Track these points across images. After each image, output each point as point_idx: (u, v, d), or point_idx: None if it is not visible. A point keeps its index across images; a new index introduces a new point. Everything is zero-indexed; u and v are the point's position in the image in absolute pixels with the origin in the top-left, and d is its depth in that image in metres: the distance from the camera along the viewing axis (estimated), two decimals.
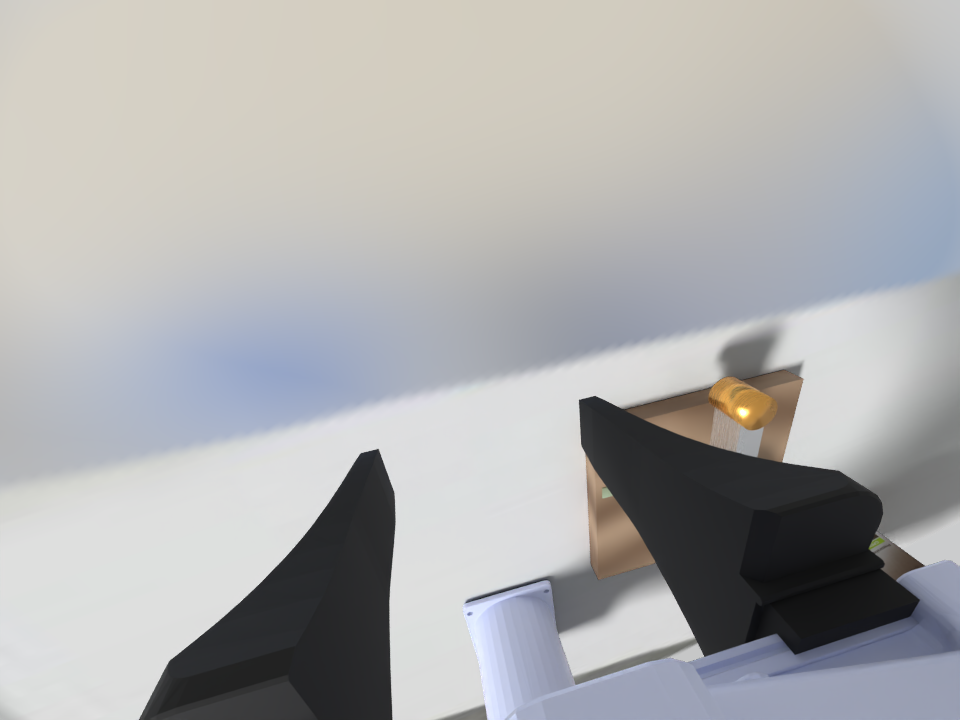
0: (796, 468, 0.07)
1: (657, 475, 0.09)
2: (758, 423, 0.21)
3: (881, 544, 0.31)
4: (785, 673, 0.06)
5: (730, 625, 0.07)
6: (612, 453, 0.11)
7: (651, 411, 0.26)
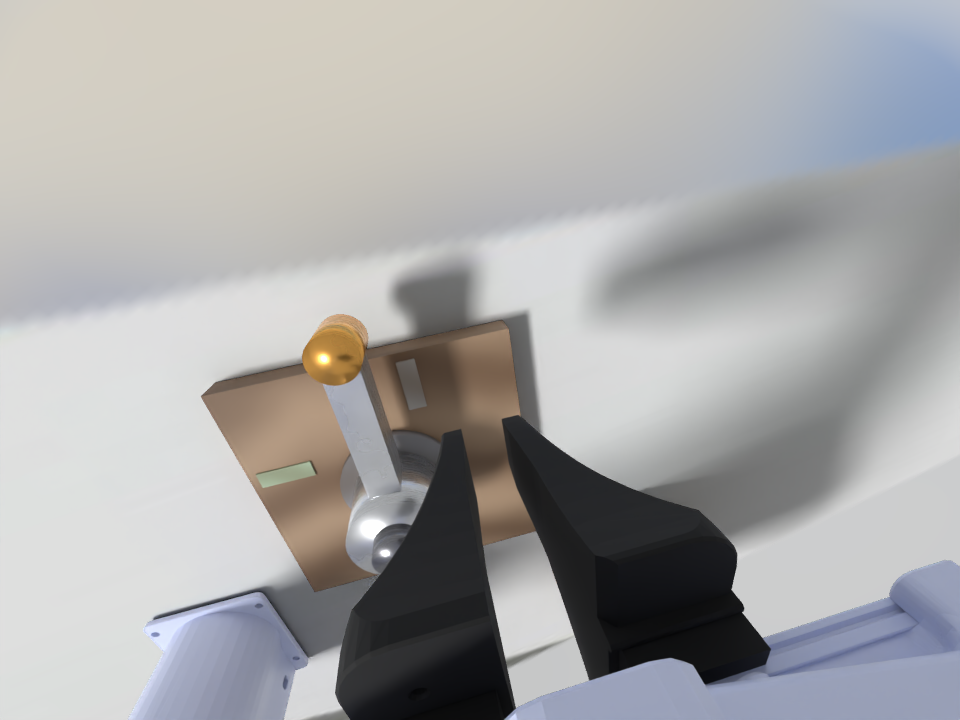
0: (663, 505, 0.07)
1: (548, 504, 0.09)
2: (339, 375, 0.15)
3: None
4: (785, 673, 0.06)
5: (600, 666, 0.07)
6: (524, 476, 0.11)
7: (297, 370, 0.19)
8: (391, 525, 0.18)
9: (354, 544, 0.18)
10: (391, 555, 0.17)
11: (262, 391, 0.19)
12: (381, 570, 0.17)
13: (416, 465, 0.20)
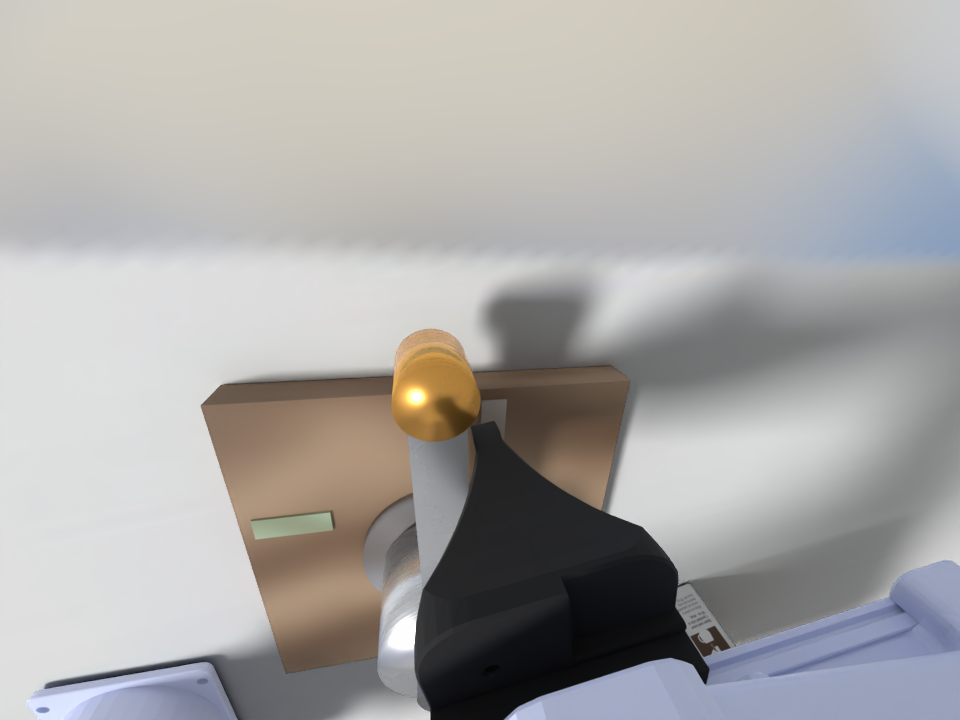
0: (609, 520, 0.07)
1: None
2: (439, 427, 0.09)
3: None
4: (785, 673, 0.06)
5: None
6: None
7: (345, 388, 0.14)
8: None
9: (390, 659, 0.12)
10: None
11: (292, 411, 0.13)
12: (427, 705, 0.12)
13: None
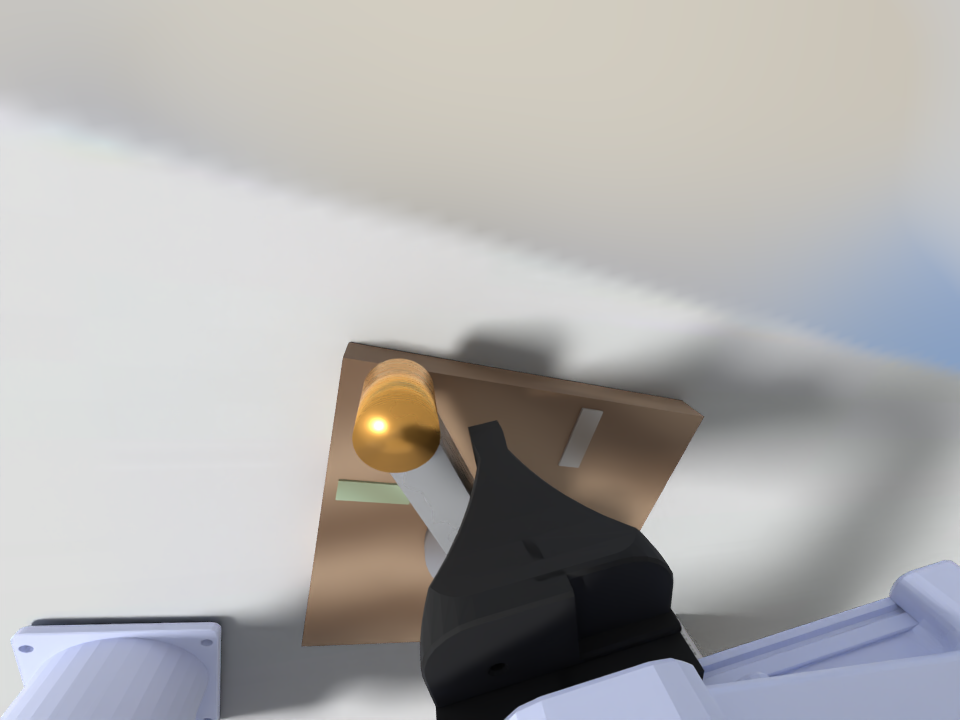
0: (604, 522, 0.07)
1: None
2: (410, 456, 0.10)
3: None
4: (785, 673, 0.06)
5: None
6: None
7: (467, 371, 0.14)
8: None
9: None
10: None
11: None
12: None
13: None
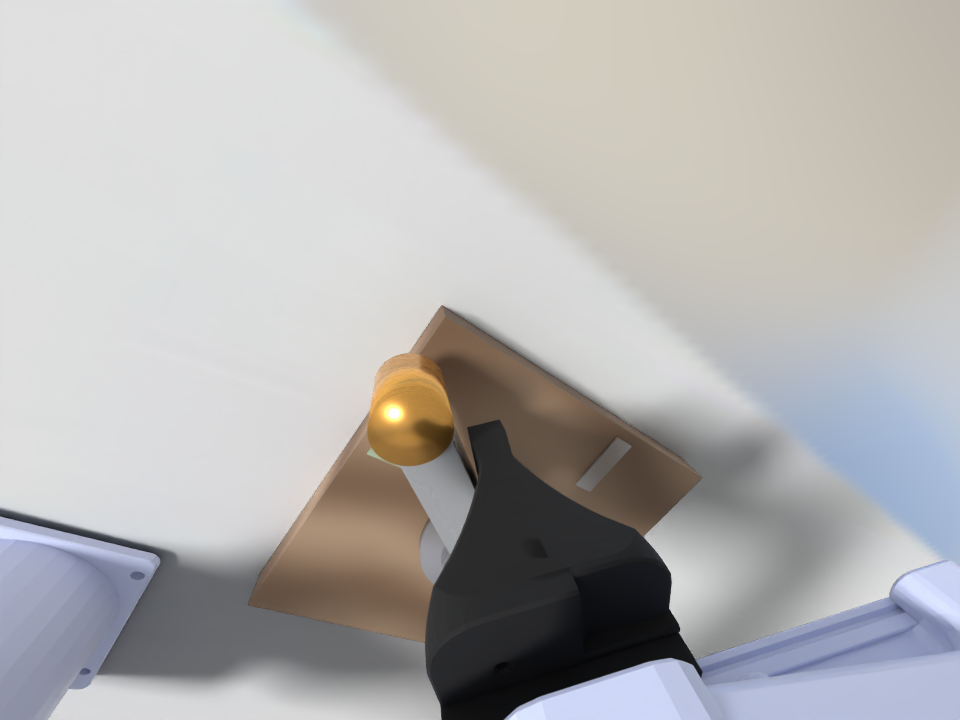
0: (602, 522, 0.07)
1: None
2: (423, 449, 0.10)
3: None
4: (785, 673, 0.06)
5: None
6: None
7: (536, 369, 0.15)
8: None
9: None
10: None
11: (500, 364, 0.14)
12: None
13: None
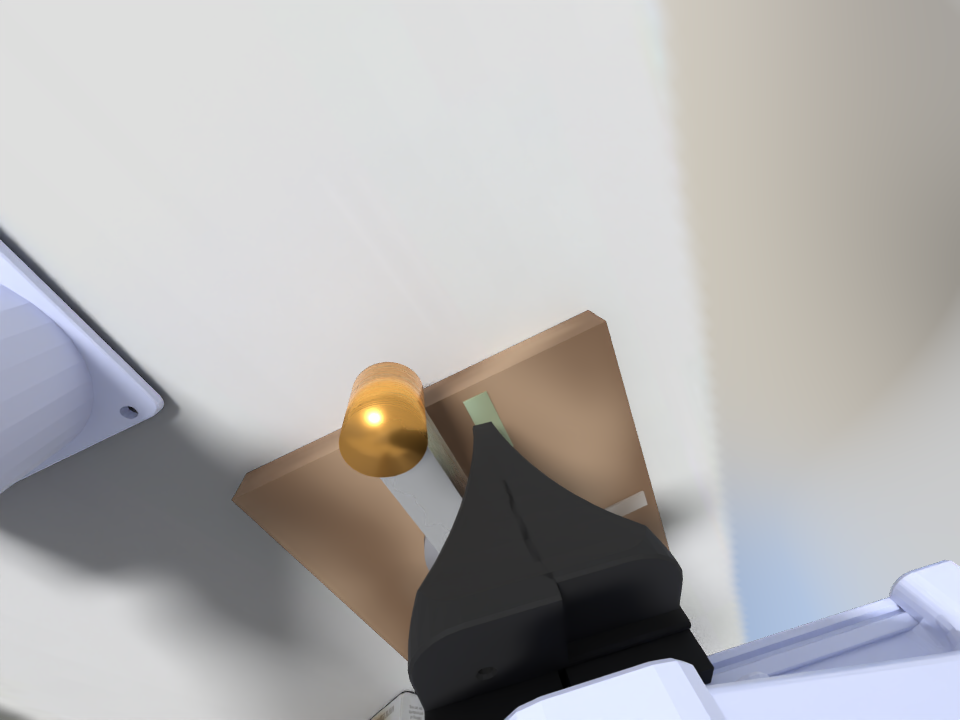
0: (613, 519, 0.07)
1: None
2: (398, 460, 0.10)
3: None
4: (785, 673, 0.06)
5: None
6: None
7: None
8: None
9: None
10: None
11: (611, 383, 0.15)
12: None
13: None
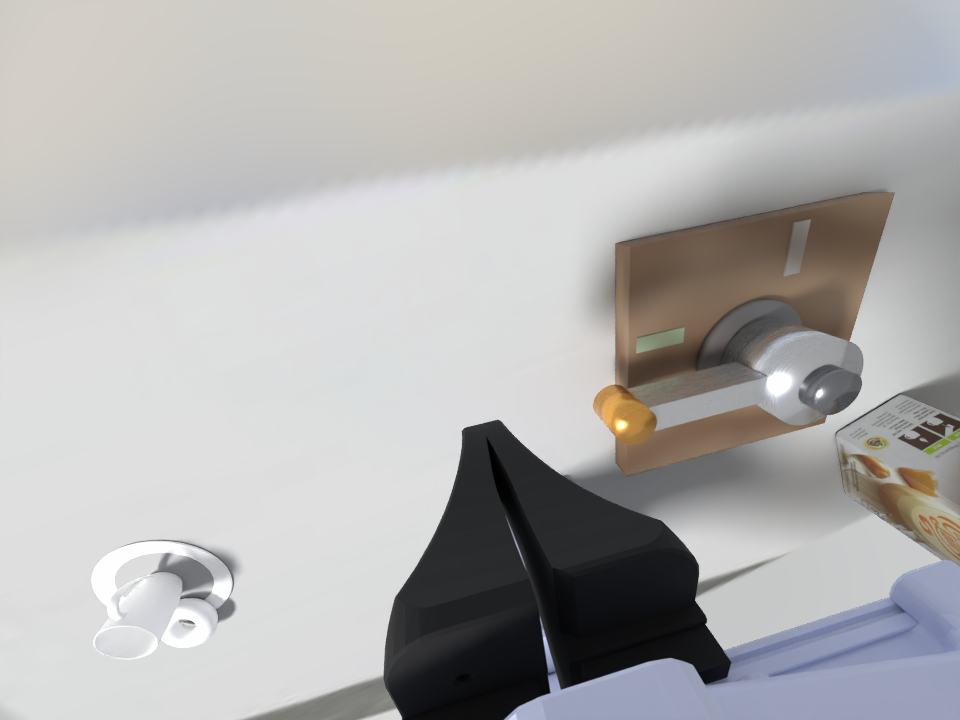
0: (628, 515, 0.07)
1: (519, 512, 0.09)
2: (649, 423, 0.19)
3: None
4: (785, 673, 0.06)
5: (566, 677, 0.07)
6: (501, 482, 0.11)
7: (701, 229, 0.20)
8: (800, 390, 0.19)
9: (801, 418, 0.20)
10: (832, 399, 0.18)
11: (679, 245, 0.20)
12: (843, 407, 0.19)
13: (743, 348, 0.21)
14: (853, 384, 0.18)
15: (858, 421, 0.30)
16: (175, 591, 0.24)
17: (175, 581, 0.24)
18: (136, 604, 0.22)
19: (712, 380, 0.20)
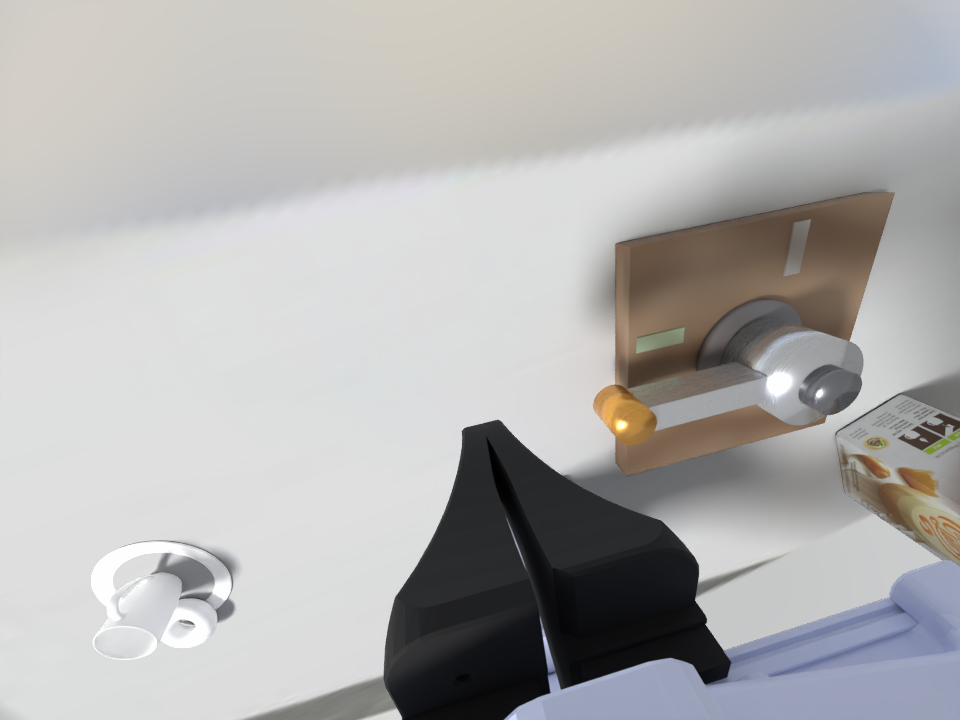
0: (628, 515, 0.07)
1: (519, 512, 0.09)
2: (649, 423, 0.19)
3: None
4: (785, 673, 0.06)
5: (566, 677, 0.07)
6: (501, 482, 0.11)
7: (701, 229, 0.20)
8: (800, 390, 0.19)
9: (801, 418, 0.20)
10: (832, 399, 0.18)
11: (679, 245, 0.20)
12: (843, 407, 0.19)
13: (743, 348, 0.21)
14: (853, 384, 0.18)
15: (858, 421, 0.30)
16: (174, 592, 0.24)
17: (174, 581, 0.24)
18: (135, 604, 0.22)
19: (712, 380, 0.20)
